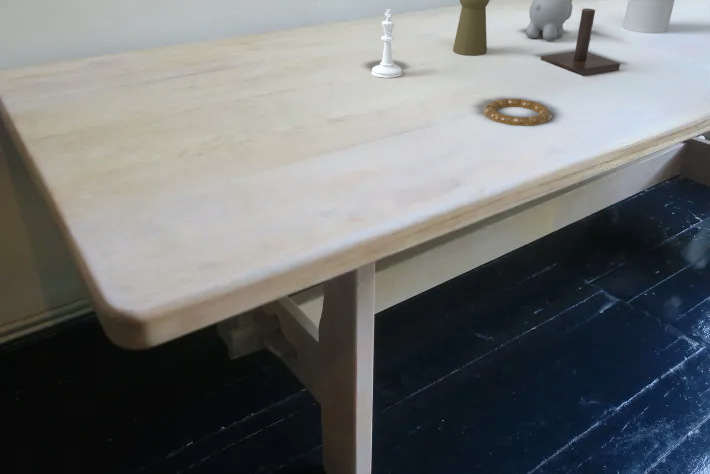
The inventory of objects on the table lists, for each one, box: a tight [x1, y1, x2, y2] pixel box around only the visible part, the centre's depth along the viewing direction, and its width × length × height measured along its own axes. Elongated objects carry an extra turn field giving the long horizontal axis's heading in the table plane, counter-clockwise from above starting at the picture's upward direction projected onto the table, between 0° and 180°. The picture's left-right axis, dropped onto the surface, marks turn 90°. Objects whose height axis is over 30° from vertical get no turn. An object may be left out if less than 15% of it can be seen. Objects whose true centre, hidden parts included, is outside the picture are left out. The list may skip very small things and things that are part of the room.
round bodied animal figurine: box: [525, 0, 574, 41], centre depth 127 cm, size 7×12×8 cm, turn 135°
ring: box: [482, 98, 553, 127], centre depth 89 cm, size 9×9×2 cm
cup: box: [622, 0, 675, 35], centre depth 127 cm, size 8×8×12 cm
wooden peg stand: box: [540, 7, 621, 77], centre depth 109 cm, size 9×9×9 cm
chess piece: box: [371, 8, 403, 79], centre depth 105 cm, size 5×5×10 cm
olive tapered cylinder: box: [452, 0, 490, 56], centre depth 116 cm, size 6×6×11 cm
